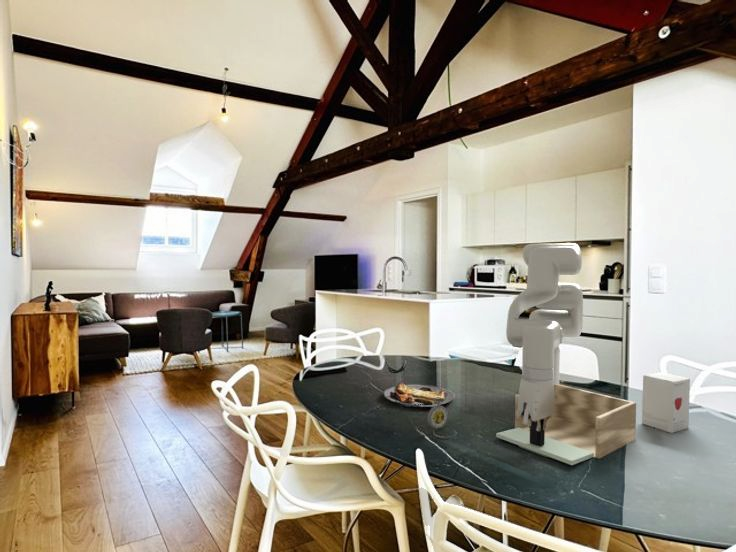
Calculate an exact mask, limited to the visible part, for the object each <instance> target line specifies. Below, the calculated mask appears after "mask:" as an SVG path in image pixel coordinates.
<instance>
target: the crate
mask: <svg viewBox="0 0 736 552" xmlns="http://www.w3.org/2000/svg"><path fill="white" fill-rule="evenodd" d="M554 392H555V409H554V413H553V414H552V415H551V417H550V418H549V419H548V420H547V422H546V428H545V429H543V430H545V436H546V437H549V438H551V439H554V440H557V441H560V442H563V443H566V444H569V445H572V446H575V447H578V448H581V449H584V450H587V451H590V452H593V453H594V457H593V458H596V459H598V460H599V459H601V458H603V457H605V456H607V455H609V454H611V453H613V452H615V451H617V450H618V449H620V448H622V447H624V446H626V445H627V444H629V443H631V442H632V441H634V440H636V432H637V431H636V430H637V429H636V424H637V402H635V401H632V400H627V399H623V398H618V397H614V396H610V395H605V394H601V393H597V392H592V391H588V390H585V389H580V388H575V387H571V386H567V385H563V384H560V383H559V384H555V383H554ZM518 396H519V393H517V394H515V397H514V398H515V401H514V402H515V404H514V405H515V406H514V409H515V410H514V411H515V412H514V416H515V417H514V428H518V427H519V428H522V429H525V430H528V431H530V429H529V427H528V426H526V425H523V419H524V417H519V416H518Z"/></svg>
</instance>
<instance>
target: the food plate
mask: <svg viewBox="0 0 736 552" xmlns="http://www.w3.org/2000/svg"><path fill="white" fill-rule="evenodd" d="M382 393H383V397H384V398H385V399H387V400H389V401H390V402H394V403H397V404H400V405H402V406H403V407H406V408H407V407H414V408H417V407H420V408H423V407H424V408H427V407H428V408H433V407H434V406H437V403H435V402H434V399H435V398H436V397H440V398H441V399H442V401H441V399H440V398H436V399H435V401H436V402H437V401H438V400H439V401H441V402H440V404H439V405H444V404H447V403H450V402H451V401H453V400H454V399H455V398H456V395H455V393H454V392H453V391H451V390H449V389H446V388H443V387H441V386H436V385H429V384H404V383H403V382H398V384H397V386H391V387H389V388H386V389H385V390H384V391H383V392H382ZM424 403H425V404H426V403H427V405H425V404H424ZM414 404H416V405H414ZM418 404H419V405H418ZM420 404H421V405H420ZM431 404H432V405H431Z"/></svg>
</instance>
